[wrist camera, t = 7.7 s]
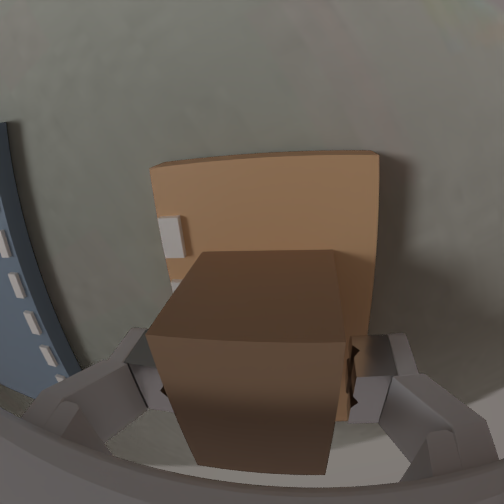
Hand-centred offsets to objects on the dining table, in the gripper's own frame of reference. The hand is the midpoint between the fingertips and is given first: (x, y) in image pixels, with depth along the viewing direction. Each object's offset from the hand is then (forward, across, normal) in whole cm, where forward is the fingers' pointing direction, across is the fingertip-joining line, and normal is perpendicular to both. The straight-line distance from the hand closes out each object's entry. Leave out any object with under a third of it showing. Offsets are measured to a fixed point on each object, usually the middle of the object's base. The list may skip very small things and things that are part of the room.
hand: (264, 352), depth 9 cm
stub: (+2, 0, 0) cm, 2 cm away
